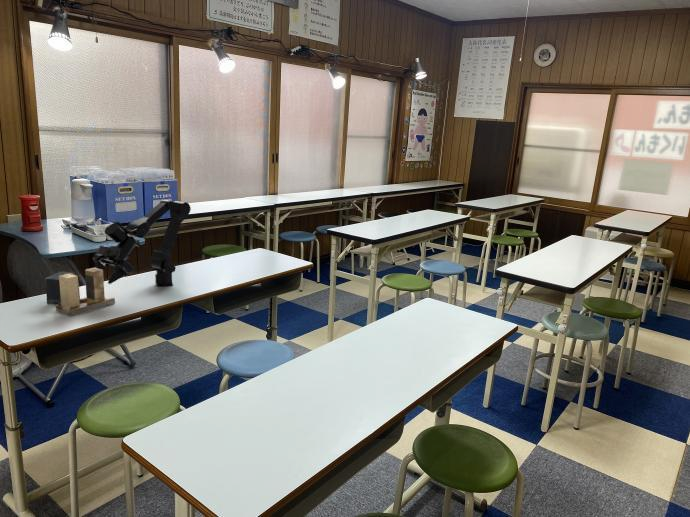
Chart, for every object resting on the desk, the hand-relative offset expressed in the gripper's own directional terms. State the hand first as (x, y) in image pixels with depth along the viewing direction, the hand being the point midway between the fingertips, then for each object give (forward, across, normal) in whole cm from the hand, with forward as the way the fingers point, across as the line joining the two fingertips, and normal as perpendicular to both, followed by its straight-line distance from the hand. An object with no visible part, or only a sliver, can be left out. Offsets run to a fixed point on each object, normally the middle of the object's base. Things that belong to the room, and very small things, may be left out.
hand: (101, 281), depth 199 cm
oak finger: (+7, 0, +4) cm, 8 cm away
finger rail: (+11, 0, +1) cm, 11 cm away
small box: (+12, -14, +1) cm, 18 cm away
